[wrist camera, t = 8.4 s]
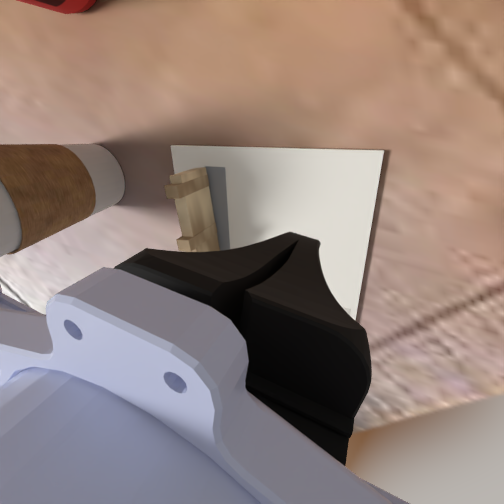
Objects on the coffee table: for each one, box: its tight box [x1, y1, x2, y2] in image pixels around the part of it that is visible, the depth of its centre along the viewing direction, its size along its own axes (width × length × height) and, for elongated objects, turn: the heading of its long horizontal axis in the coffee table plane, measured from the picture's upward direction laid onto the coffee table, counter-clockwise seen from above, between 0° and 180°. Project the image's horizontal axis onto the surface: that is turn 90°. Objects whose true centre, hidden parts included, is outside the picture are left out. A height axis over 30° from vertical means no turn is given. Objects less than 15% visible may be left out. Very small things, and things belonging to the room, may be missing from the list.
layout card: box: [171, 145, 384, 320], centre depth 25 cm, size 20×16×1 cm
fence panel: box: [164, 167, 220, 252], centre depth 23 cm, size 10×1×4 cm, turn 7°
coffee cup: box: [0, 144, 125, 257], centre depth 22 cm, size 8×8×15 cm
